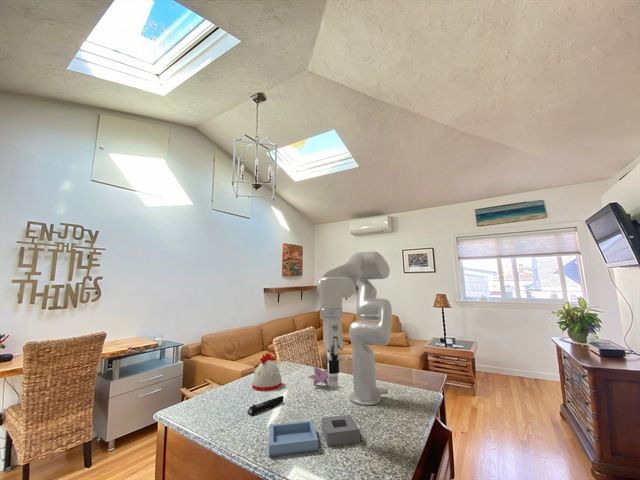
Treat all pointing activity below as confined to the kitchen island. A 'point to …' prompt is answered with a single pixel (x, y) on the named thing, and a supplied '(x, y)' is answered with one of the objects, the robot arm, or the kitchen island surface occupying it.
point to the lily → (320, 376)
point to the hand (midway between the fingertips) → (332, 371)
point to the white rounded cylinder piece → (332, 376)
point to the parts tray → (292, 438)
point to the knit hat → (266, 375)
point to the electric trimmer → (265, 405)
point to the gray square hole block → (340, 430)
